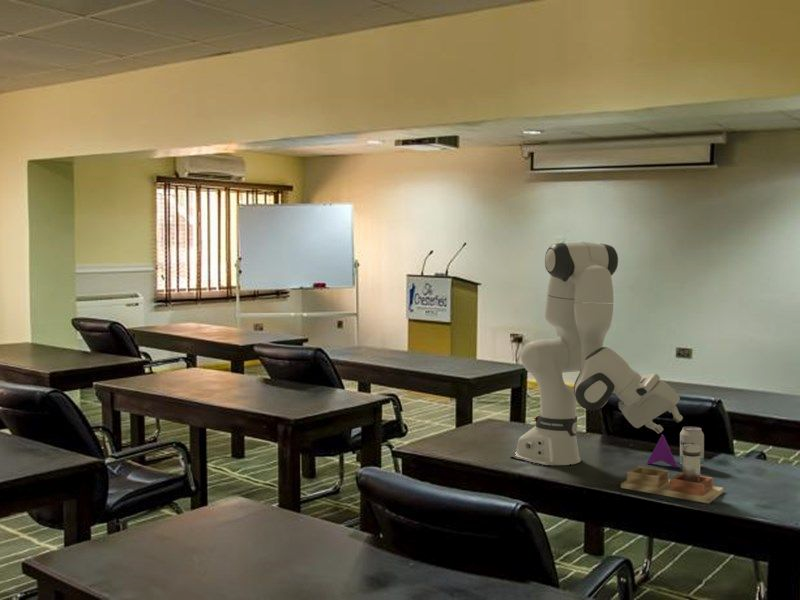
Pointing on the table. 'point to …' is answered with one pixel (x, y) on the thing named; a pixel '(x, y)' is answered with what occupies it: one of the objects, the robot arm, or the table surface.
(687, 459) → the white cylinder
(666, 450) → the arrowhead
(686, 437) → the beverage can
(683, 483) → the collar board
